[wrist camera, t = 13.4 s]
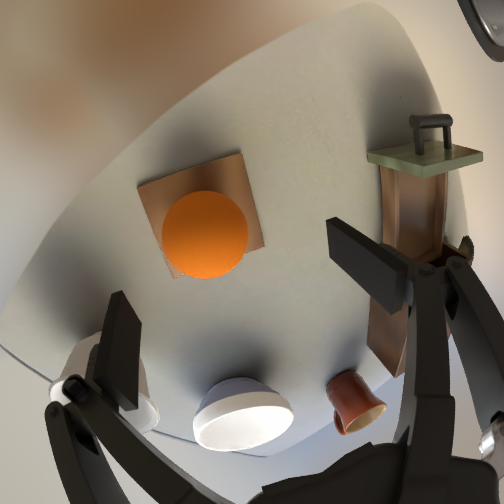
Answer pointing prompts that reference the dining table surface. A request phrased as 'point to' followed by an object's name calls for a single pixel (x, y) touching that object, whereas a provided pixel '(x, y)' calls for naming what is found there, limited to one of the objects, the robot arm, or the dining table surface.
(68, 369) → the teacup
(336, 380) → the mug
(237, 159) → the coaster
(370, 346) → the cabinet
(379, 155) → the drawer
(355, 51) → the dining table surface
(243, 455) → the dining table surface
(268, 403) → the bowl
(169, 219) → the orange
